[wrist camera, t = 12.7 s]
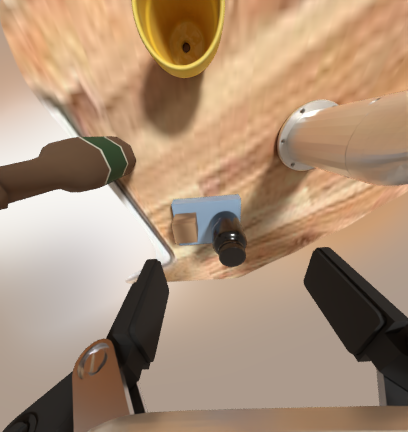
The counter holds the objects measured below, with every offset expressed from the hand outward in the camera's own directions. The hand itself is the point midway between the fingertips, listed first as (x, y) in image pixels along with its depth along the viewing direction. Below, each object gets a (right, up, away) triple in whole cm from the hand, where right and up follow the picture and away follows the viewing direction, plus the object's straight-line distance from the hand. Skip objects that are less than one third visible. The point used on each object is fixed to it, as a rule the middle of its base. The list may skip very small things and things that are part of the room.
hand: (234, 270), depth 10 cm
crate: (-6, +2, +28) cm, 28 cm away
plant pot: (-5, +31, +16) cm, 35 cm away
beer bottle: (-20, +16, +24) cm, 35 cm away
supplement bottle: (+3, +2, +28) cm, 28 cm away
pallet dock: (-1, +3, +31) cm, 31 cm away
